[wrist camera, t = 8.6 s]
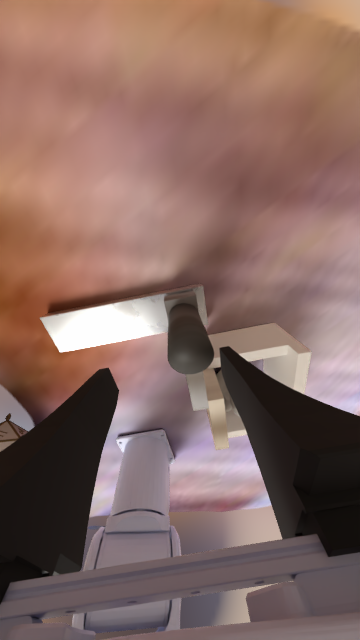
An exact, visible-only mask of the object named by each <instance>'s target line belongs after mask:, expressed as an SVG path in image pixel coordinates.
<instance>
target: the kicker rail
mask: <svg viewBox="0 0 360 640" xmlns="http://www.w3.org/2000/svg"><path fill="white" fill-rule="evenodd" d="M189 291H194V292H195V294H196V297H197V304H198V311H199V315H200V317H201V320H202V322H203V325H208V320H207V312H206V304H205V296H204V288H203V285H202V284H201V283H200V284H195V285H190V286H184V287H179V288H174V289H169V290H164V291H159V292H154V293H149V294H144V295H138V296H133V297H128V298H123V299H118V300H113V301H108V302H103V303H98V304H93V305H87V306H82V307H77V308H72V309H67V310H62V311H57V312H52V313H47V314H45V315H44V316H42V317H40V319H41V321H42V322H43V324H44V326H45V327H46V329H47V331H48V333H49V334H50V336H51V338H52V339H53V341H54V343H55V344H56V346H57V348H58V350H59V351H60V352H66V351H71V350H76V349H81V348H87V347H92V346H97V345H102V344H108V343H113V342H118V341H123V340H129V339H134V338H139V337H145V336H150V335H155V334H160V333H166V332H168V317H167V313H166V309H165V304H164V296H169V295H174V294H179V293H184V292H189Z"/></svg>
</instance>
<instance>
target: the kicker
mask: <svg viewBox="0 0 360 640" xmlns="http://www.w3.org/2000/svg"><path fill="white" fill-rule="evenodd" d="M164 304H165V309H166V313H167V317H168V361H169V364H170V365H171V367H172V368H173V369H174V370H176V371H177V372H179V373H182V374H185V375H186V379H187V384H188V388H189V393H190V397H191V402H192V407H193V411H198V410H204V409H207V413H208V418H209V422H210V427H211V431H212V435H213V440H214V444H215V449H216V450H220V449H226V448H229V443H228V433H227V424H226V414H225V404H224V397H223V394H222V391H221V389H220V386H219V383H218V380H217V377H216V374H215V371H214V369H213V368H211V369H209V368H208V367H209V366H210V364H211V363H212V361H213V359H214V349H213V347H212V344H211V342H210V339H209V337H208V334H207V332H206V330H205V327H204V325H203V322H202V320H201V317H200V315H199V311H198V304H197V297H196V294H195V292H194V291H189V292H184V293H179V294H174V295H169V296H164Z"/></svg>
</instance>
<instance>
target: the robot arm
mask: <svg viewBox="0 0 360 640" xmlns="http://www.w3.org/2000/svg"><path fill="white" fill-rule="evenodd" d="M219 351H220V362H221V372H222V376H223V379H224V382H225V385H226V387H227V390H228V392H229V394H230V396H231V398H232V400H233V403H234V405H235V407H236V409H237V411H238V413H239V415H240V418H241V420H242V422H243V424H244V427H245V429H246V432H247V435H248V437H249V440H250V443H251V446H252V448H253V451H254V454H255V457H256V460H257V463H258V466H259V468H260V471H261V474H262V477H263V480H264V483H265V486H266V489H267V492H268V495H269V498H270V501H271V504H272V507H273V510H274V513H275V516H276V520H277V522H278V526H279V529H280V532H281V535H282V538H283V539H282V540H275V541H269V542H263V543H256V544H250V545H244V546H238V547H231V548H225V549H219V550H212V551H207V552H200V553H193V554H187V555H182V556H181V549H180V540H179V536H178V533H177V532H176V530H175V527H174V526H170V523H169V522H170V521H169V520H170V519H169V518H170V517H169V516H168V513H169V507H170V464H171V463H174V462H175V458H174V456H173V453H172V450H171V447H170V444H169V442H168V439H167V436H166V433H165V431H164V430H163V429H160V430H155V431H149V432H144V433H138V434H132V435H127V436H121V437H117V439H116V442H117V443H118V445H119V447H120V449H121V450H122V452H123V457H122V462H121V467H120V471H119V476H118V481H117V486H116V490H115V495H114V500H113V504H112V509H111V514H110V516H109V517H108V518H107V523H106V527H100V529H99V530H98V532H97V533H96V534H95V535H94V536H93V539H92V541H91V544H90V547H89V550H88V554H87V557H86V561H85V565H84V568H83V571H80V570H81V568H82V561H83V554H84V546H85V540H86V533H87V526H88V520H89V514H90V508H91V502H92V497H93V492H94V487H95V482H96V476H97V472H98V467H99V463H100V458H101V454H102V450H103V447H104V443H105V440H106V437H107V434H108V431H109V428H110V425H111V422H112V418H113V415H114V412H115V409H116V405H117V400H118V394H119V390H118V387H117V385H116V383H115V381H114V379H113V376H112V374H111V372H110V370H109V368H105V369H99V370H98V371H97V372H96V373H95V374H94V375H93V376H92V377H91V378H89V379H88V380H87V381H86V382H85V383H84V384H83V385H82V386H81V387H80V388H79V389H78V390H77V391H76V392H75V393H74V394H73V395H72V396H71V397H69V398H68V399H67V400H66V401H65V402H64V403H63V404H62V405H61V406H59V407H58V408H57V409H56V410H55V411H54V412H53V413H51V414H50V415H49V416H48V417H47V418H45V419H44V420H43V421H42V422H40V423H39V424H38V425H37V426H35V427H34V428H33V429H31V430H30V431H29V432H27V433H26V434H25V435H23V436H22V437H20V438H19V439H18V440H16V441H15V442H14V443H12V444H11V445H9V446H8V447H7V448H5V449H4V450H2V451H1V452H0V640H95V636H96V635H95V633H102V632H114V631H125V630H135V629H146V628H156V627H159V628H158V629H157V631H156V632H152V633H145V634H137V635H130V636H123V637H116V638H109V639H103V640H360V416H357V415H354V414H352V413H349V412H346V411H343V410H340V409H338V408H335V407H332V406H330V405H328V404H325V403H323V402H320V401H318V400H315V399H313V398H311V397H309V396H306V395H304V394H302V393H300V392H298V391H296V390H294V389H292V388H290V387H288V386H286V385H284V384H282V383H281V382H279V381H277V380H275V379H273V378H272V377H270V376H268V375H267V374H265V373H264V372H262V371H261V370H259V369H258V368H256V367H255V366H254V365H252V364H251V363H250V362H248V361H247V360H246V359H244V358H243V357H242V356H240V355H239V354H238V353H237V352H236V351H234V350H233V349H232V348H231V347H229V346H226V347H221V348H219ZM79 571H80V572H79ZM288 581H294V582H288ZM281 582H282V583H281ZM275 583H278V584H275ZM268 584H275V585H271V586H268V587H265V588H262V589H259V590H256V591H253V592H251V593H248V594H247V597H246V601H247V606H248V610H249V611H248V612H249V616H250V621H251V622H250V623H240V624H230V625H220V626H208V627H198V628H188V629H180V607H181V598H184V597H190V596H197V595H203V594H210V593H216V592H223V591H229V590H236V589H242V588H249V587H255V586H262V585H268ZM67 615H73V622H72V627H71V626H70V625H68V624H67V623H43V622H42V620H41V619H47V618H54V617H61V616H67Z"/></svg>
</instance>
